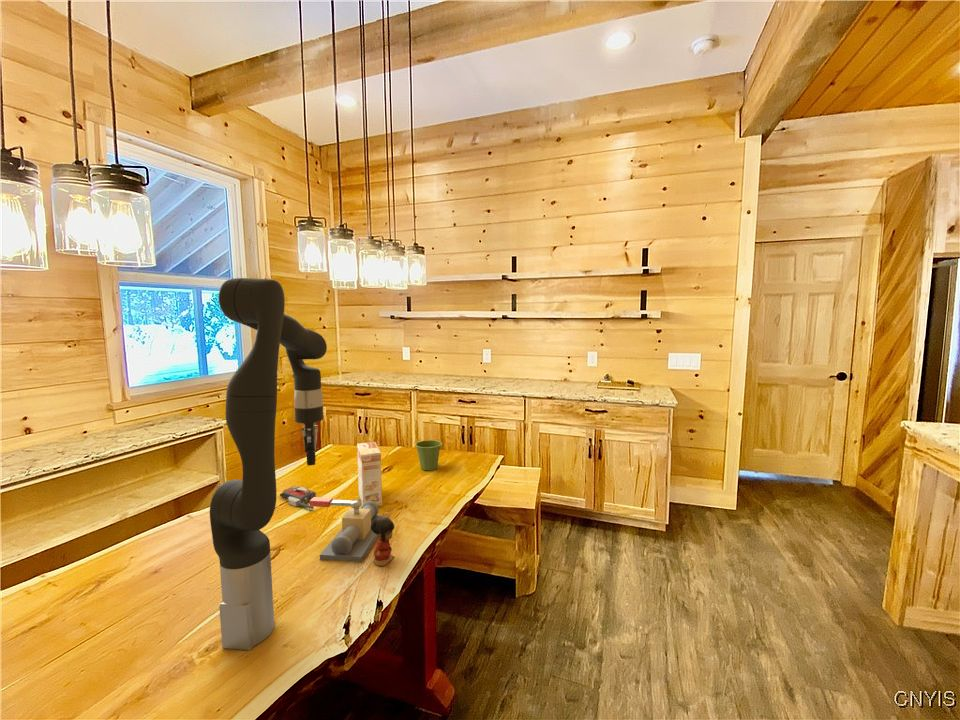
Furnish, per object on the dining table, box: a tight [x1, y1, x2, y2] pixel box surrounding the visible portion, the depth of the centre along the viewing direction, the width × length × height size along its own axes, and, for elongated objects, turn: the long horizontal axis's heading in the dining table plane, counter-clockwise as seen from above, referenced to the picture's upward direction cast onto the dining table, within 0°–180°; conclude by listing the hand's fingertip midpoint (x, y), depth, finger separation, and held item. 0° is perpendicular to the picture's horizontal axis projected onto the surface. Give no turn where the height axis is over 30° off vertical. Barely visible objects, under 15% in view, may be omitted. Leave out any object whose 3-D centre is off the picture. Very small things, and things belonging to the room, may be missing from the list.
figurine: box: [371, 517, 395, 567], centre depth 114 cm, size 6×6×12 cm
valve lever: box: [309, 496, 362, 508], centre depth 126 cm, size 16×3×2 cm, turn 85°
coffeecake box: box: [356, 441, 383, 507], centre depth 153 cm, size 15×7×20 cm, turn 22°
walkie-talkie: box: [279, 485, 317, 510], centre depth 152 cm, size 9×4×20 cm
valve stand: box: [319, 501, 390, 563], centre depth 126 cm, size 24×12×10 cm, turn 175°
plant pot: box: [414, 439, 443, 471], centre depth 184 cm, size 12×12×11 cm
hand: (311, 463), depth 120 cm, fingers closed
